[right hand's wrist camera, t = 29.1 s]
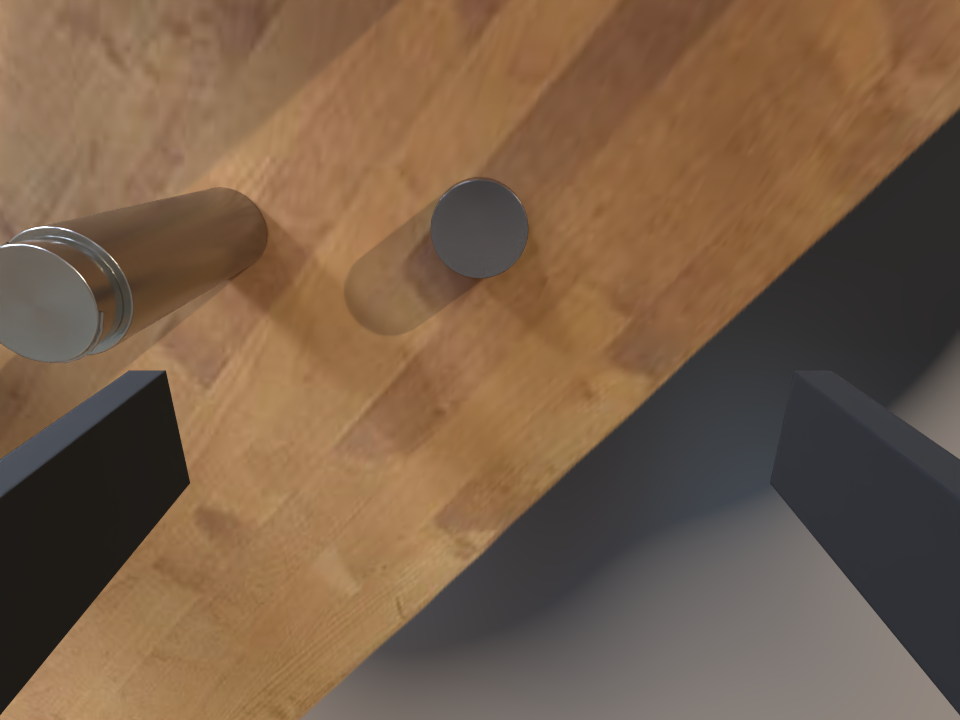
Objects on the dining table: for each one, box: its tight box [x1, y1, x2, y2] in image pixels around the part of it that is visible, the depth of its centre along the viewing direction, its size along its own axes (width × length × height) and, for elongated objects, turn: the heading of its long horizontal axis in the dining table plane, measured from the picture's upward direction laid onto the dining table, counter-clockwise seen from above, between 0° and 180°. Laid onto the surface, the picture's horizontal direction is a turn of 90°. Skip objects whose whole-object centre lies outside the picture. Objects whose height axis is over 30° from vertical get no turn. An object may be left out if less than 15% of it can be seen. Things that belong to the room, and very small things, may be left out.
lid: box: [431, 177, 528, 278], centre depth 39 cm, size 6×6×2 cm
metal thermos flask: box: [0, 187, 267, 363], centre depth 31 cm, size 6×6×18 cm
